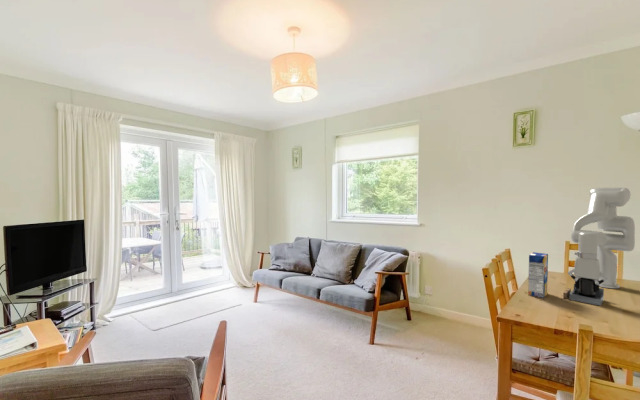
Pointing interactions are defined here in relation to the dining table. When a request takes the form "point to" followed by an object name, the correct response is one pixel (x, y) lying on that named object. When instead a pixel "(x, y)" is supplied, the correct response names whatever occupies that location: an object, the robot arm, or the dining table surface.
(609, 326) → the dining table surface
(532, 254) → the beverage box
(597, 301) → the keeper
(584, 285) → the supplement bottle
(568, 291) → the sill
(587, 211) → the robot arm
